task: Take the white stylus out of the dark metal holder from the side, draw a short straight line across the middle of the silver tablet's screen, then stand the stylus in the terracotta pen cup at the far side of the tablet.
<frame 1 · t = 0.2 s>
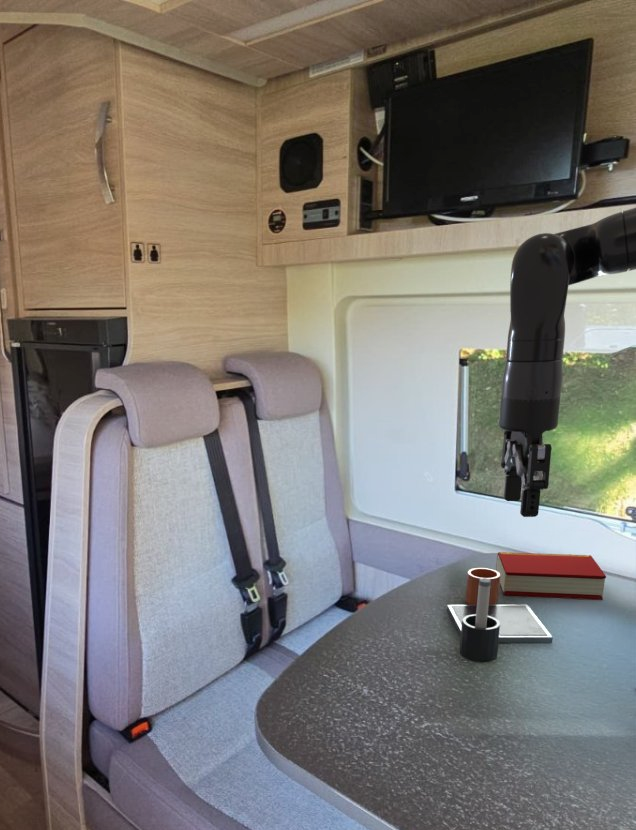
hand: (520, 508, 104), 29 cm above the table, tool pointing down, fingers open, 8 cm apart
pen cup: (481, 601, 143), on the table
tablet: (496, 625, 132), on the table
holder: (478, 653, 123), on the table
book: (546, 586, 149), on the table
stylus: (478, 650, 123), resting on holder
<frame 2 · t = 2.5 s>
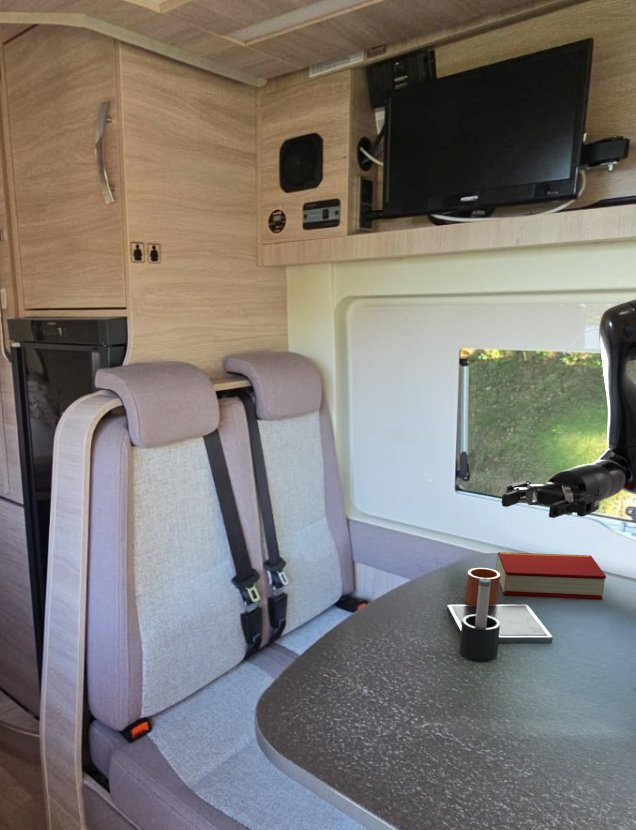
hand: (527, 506, 119), 24 cm above the table, tool horizontal, fingers open, 8 cm apart
nothing on the table moved.
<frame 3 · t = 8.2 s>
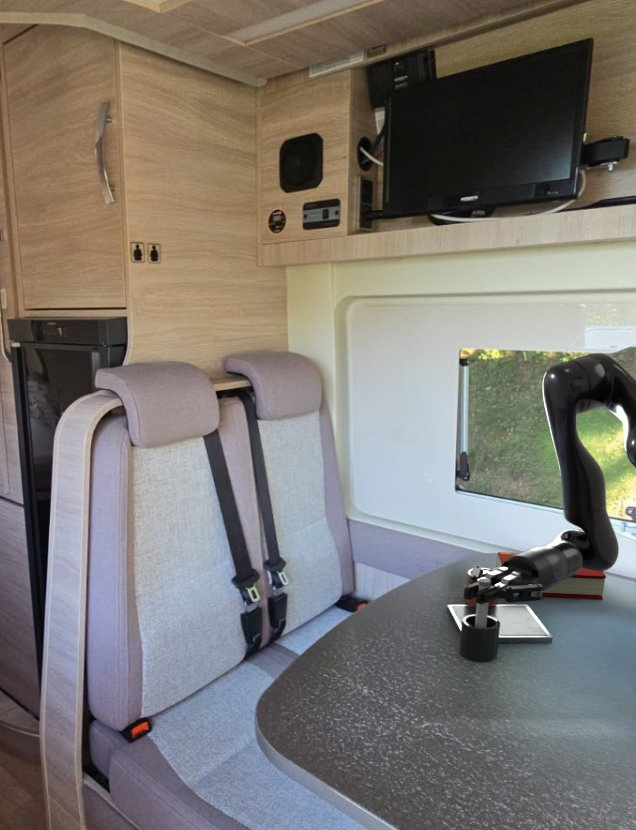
hand: (472, 596, 117), 12 cm above the table, tool horizontal, fingers closed on stylus, 2 cm apart
stylus: (478, 650, 123), point 1 cm above the table, touching gripper
everything else where it was.
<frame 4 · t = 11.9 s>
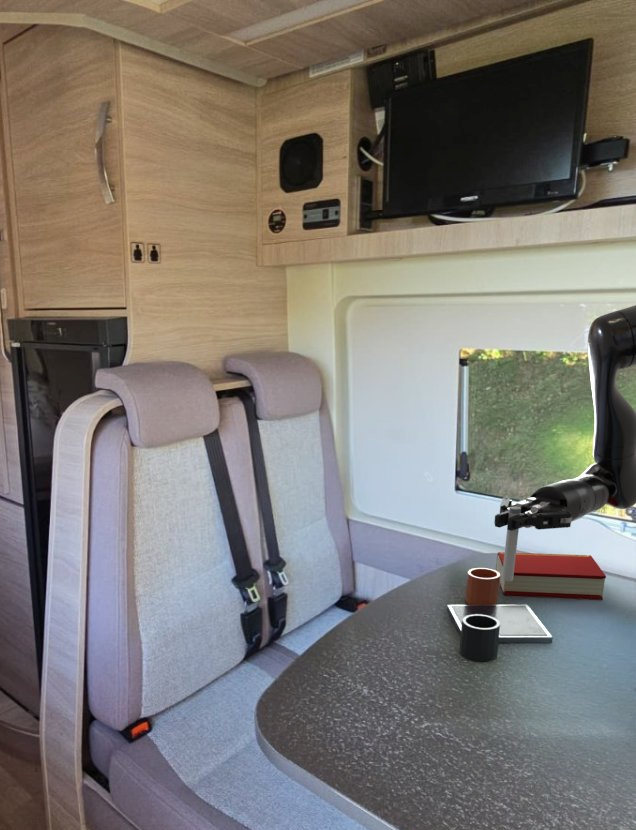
hand: (503, 522, 119), 22 cm above the table, tool horizontal, fingers closed on stylus
stylus: (507, 579, 125), point 11 cm above the table, touching gripper
everything else where it was.
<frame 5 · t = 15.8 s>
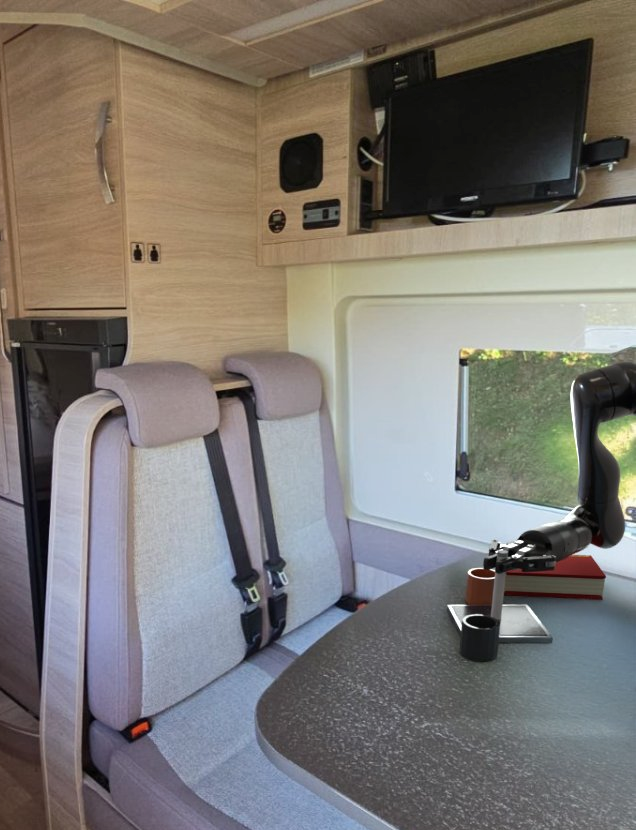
hand: (491, 566, 127), 12 cm above the table, tool horizontal, fingers closed on stylus, 2 cm apart
stylus: (495, 618, 133), point 1 cm above the table, touching gripper
everything else where it was.
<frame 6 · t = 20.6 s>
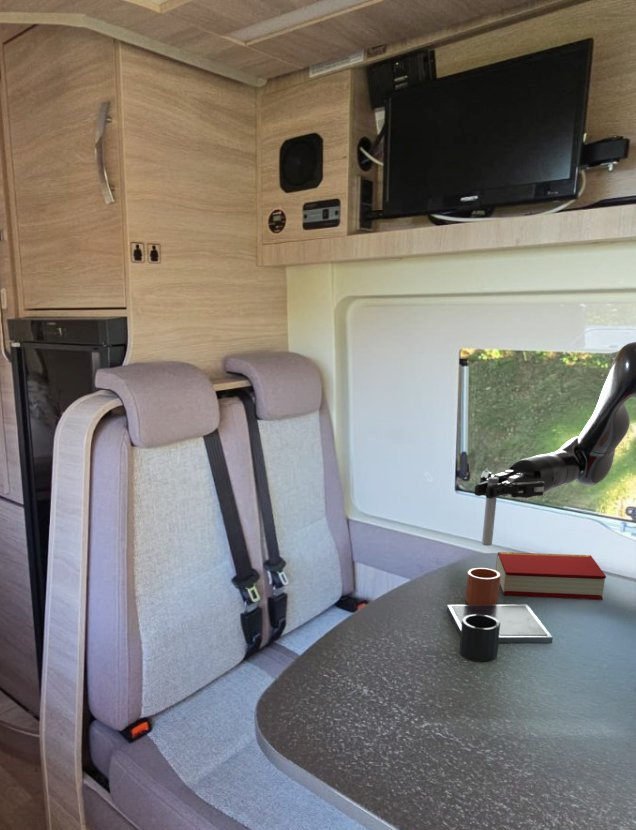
hand: (482, 491, 132), 23 cm above the table, tool horizontal, fingers closed on stylus
stylus: (486, 544, 138), point 12 cm above the table, touching gripper
everything else where it was.
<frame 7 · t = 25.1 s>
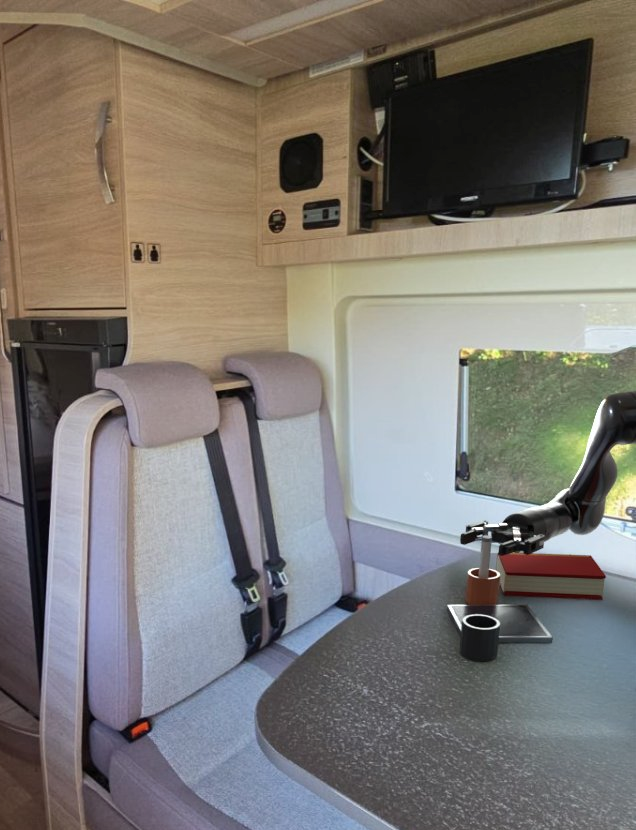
hand: (480, 544, 137), 12 cm above the table, tool horizontal, fingers open, 8 cm apart
stylus: (481, 598, 143), resting on pen cup
everything else where it was.
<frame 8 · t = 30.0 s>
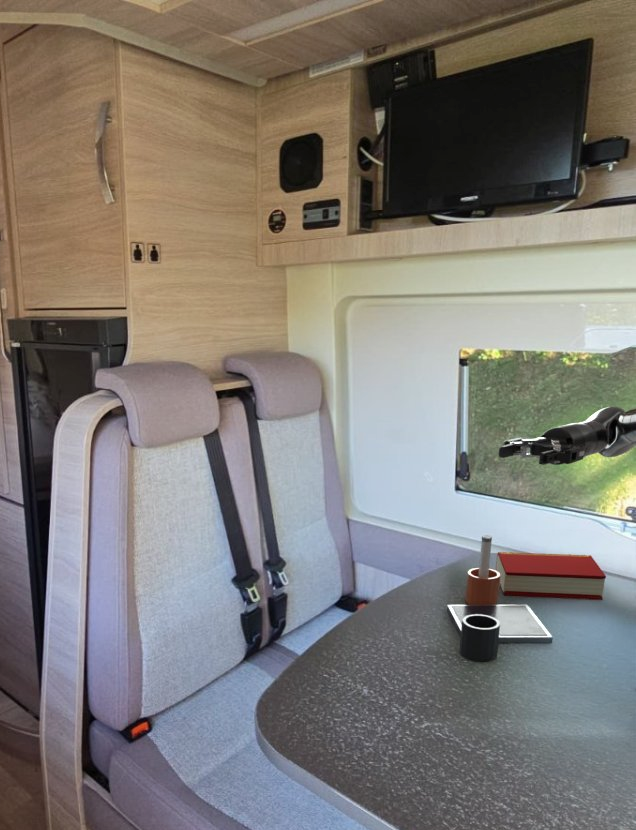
hand: (520, 455, 137), 28 cm above the table, tool horizontal, fingers open, 8 cm apart
nothing on the table moved.
at the end: stylus 0.1 cm off-centre in the pen cup, point 0.5 cm above the pen cup's base; stylus tilted 0°; the gripper is holding nothing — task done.
